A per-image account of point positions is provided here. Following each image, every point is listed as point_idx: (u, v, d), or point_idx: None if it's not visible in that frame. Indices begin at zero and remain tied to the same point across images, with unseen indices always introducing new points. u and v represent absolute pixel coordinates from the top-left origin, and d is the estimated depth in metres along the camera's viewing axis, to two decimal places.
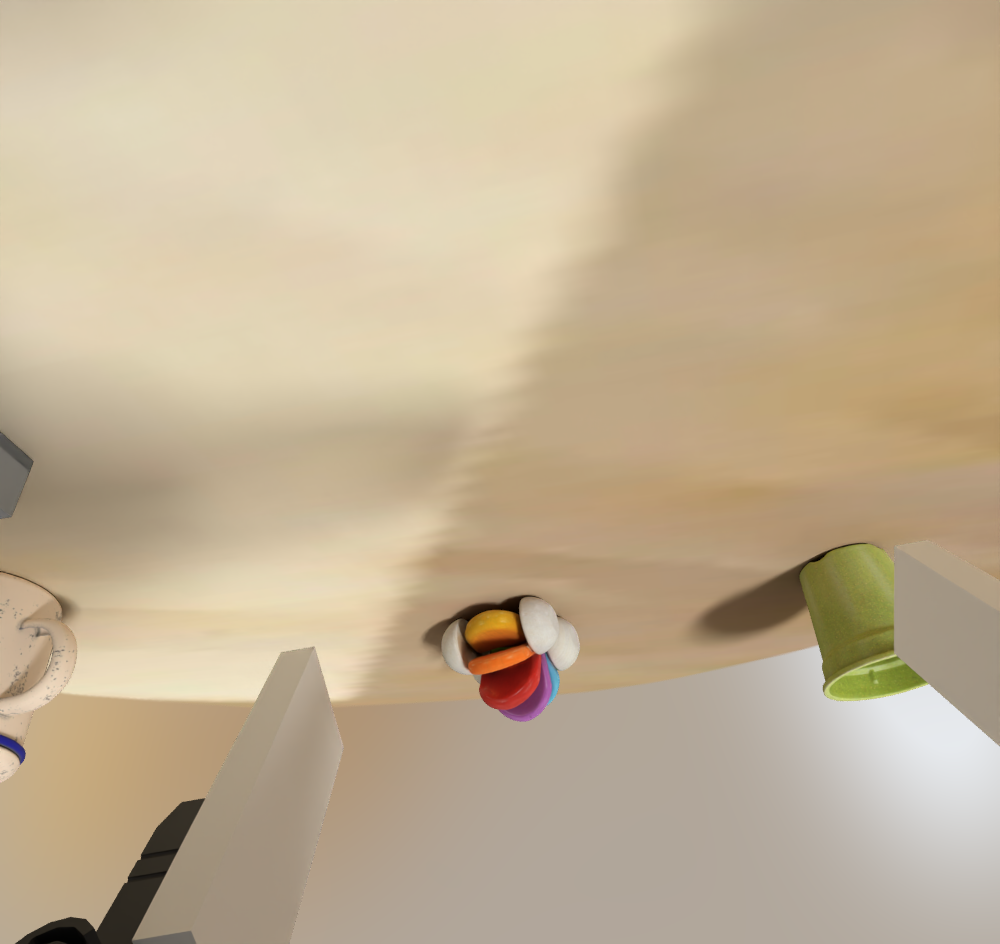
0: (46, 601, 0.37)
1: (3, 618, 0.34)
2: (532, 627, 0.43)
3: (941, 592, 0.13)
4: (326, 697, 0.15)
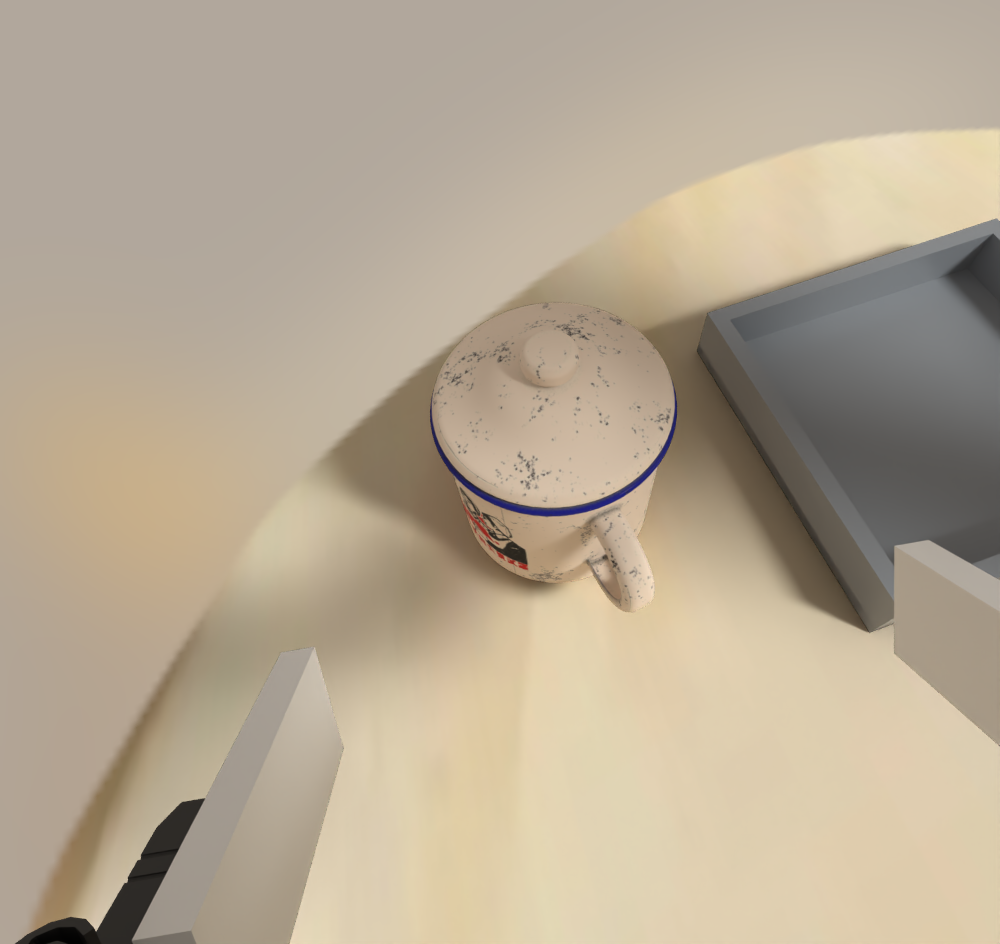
0: (588, 574, 0.29)
1: None
2: None
3: (941, 592, 0.13)
4: (326, 697, 0.15)
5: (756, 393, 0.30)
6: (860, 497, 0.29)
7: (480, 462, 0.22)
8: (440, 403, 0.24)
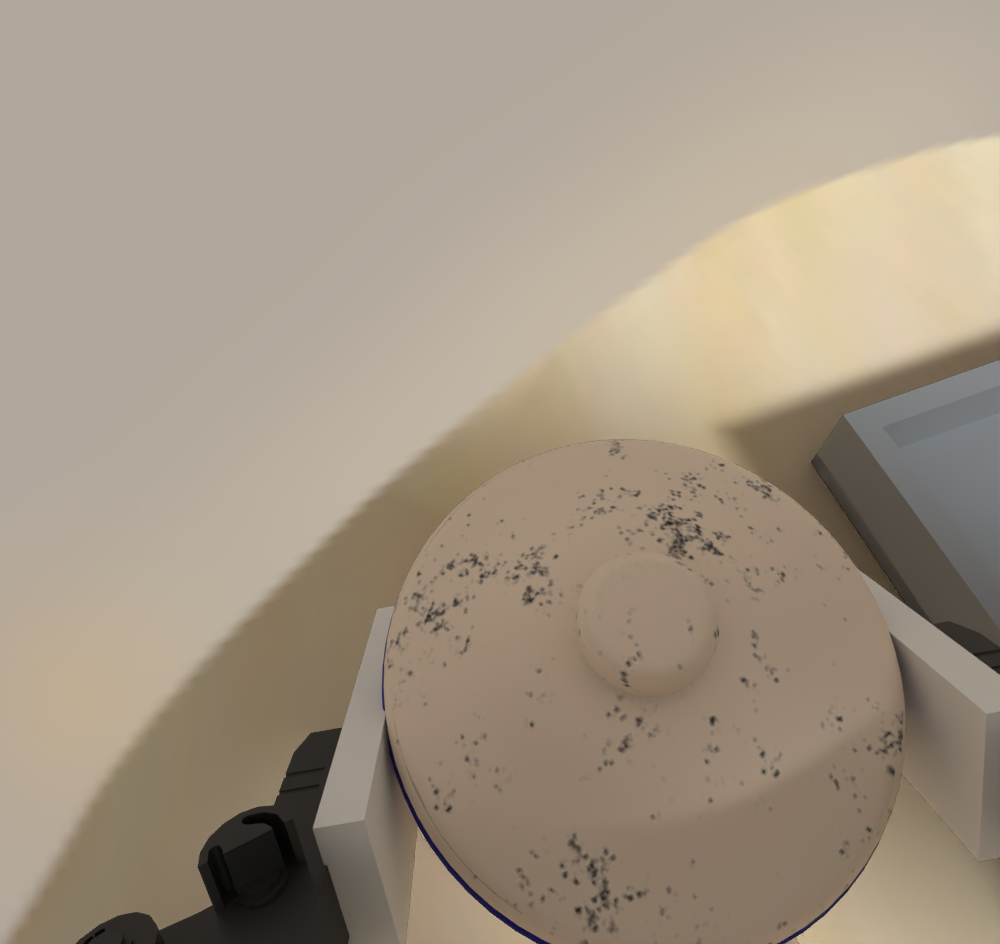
0: None
1: None
2: None
3: None
4: None
5: (944, 562, 0.18)
6: None
7: (483, 843, 0.10)
8: (400, 670, 0.11)
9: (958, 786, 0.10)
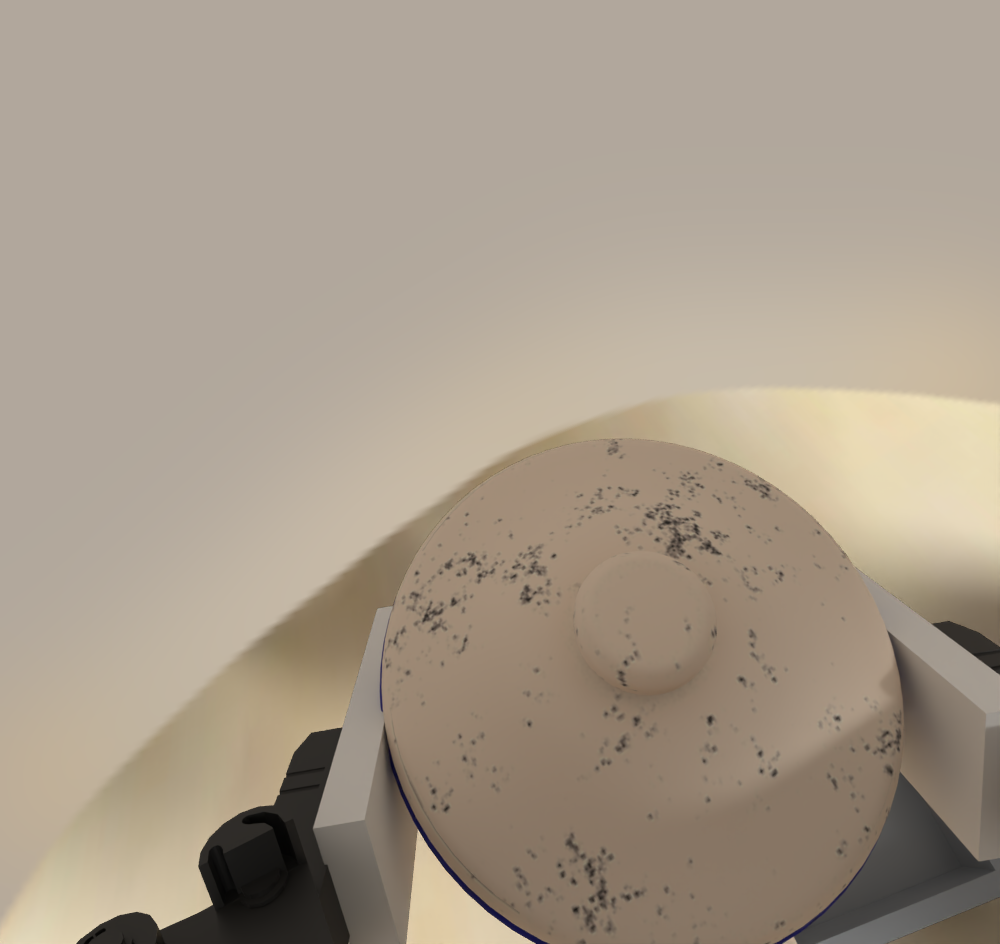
0: None
1: None
2: None
3: None
4: None
5: None
6: None
7: (480, 842, 0.10)
8: (398, 669, 0.11)
9: (958, 786, 0.10)
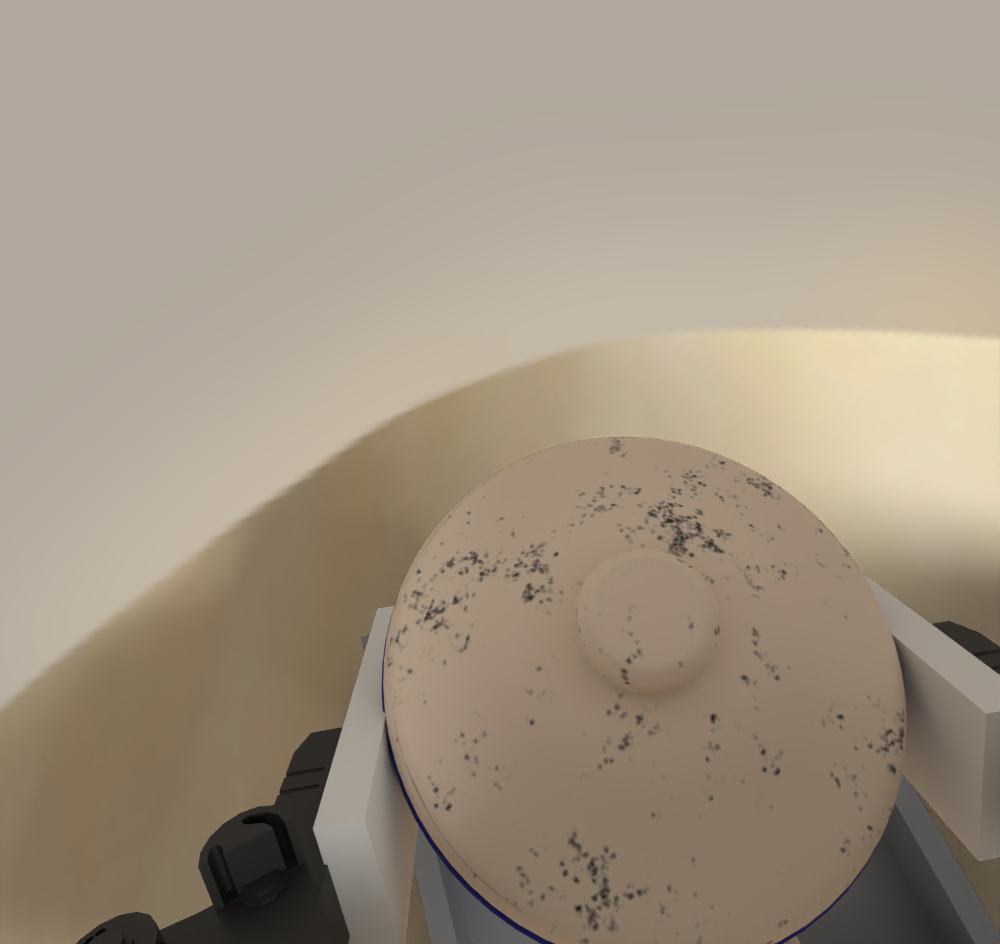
0: None
1: None
2: None
3: None
4: None
5: None
6: None
7: (483, 840, 0.10)
8: (400, 668, 0.11)
9: (957, 786, 0.10)
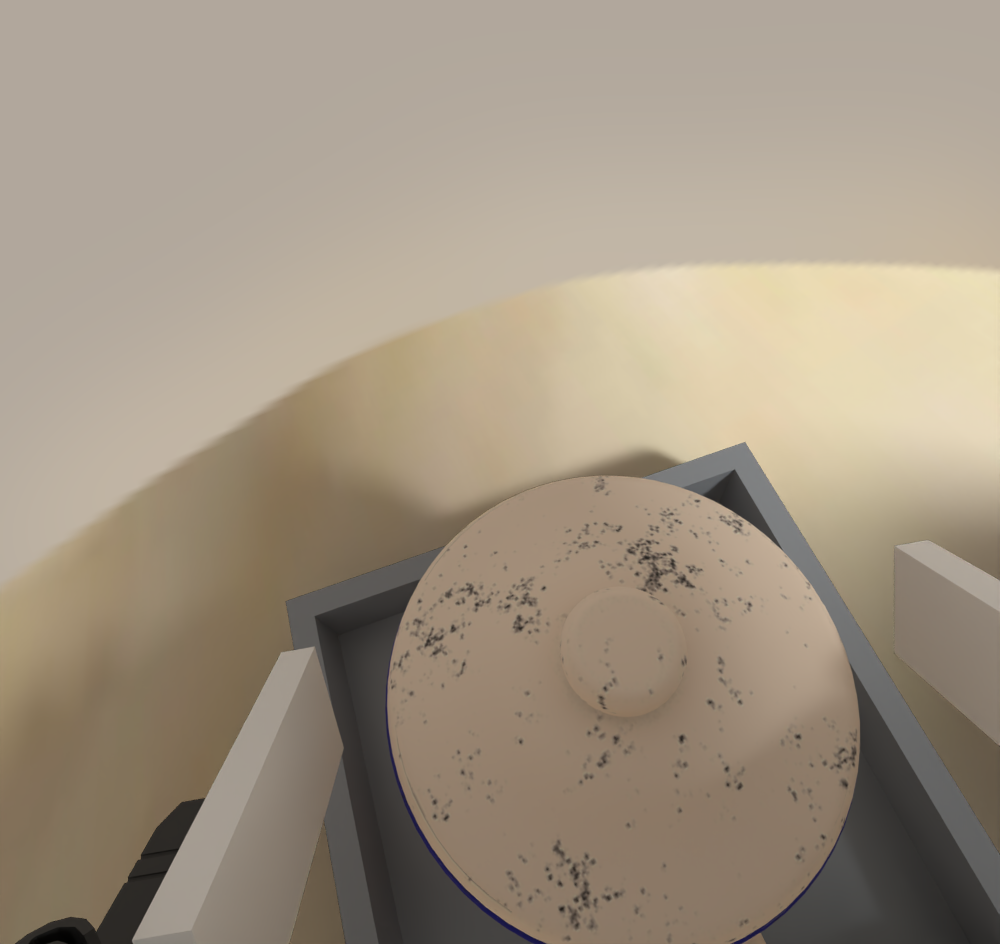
0: None
1: None
2: None
3: (940, 593, 0.13)
4: (327, 697, 0.15)
5: None
6: None
7: (477, 848, 0.11)
8: (402, 690, 0.12)
9: None
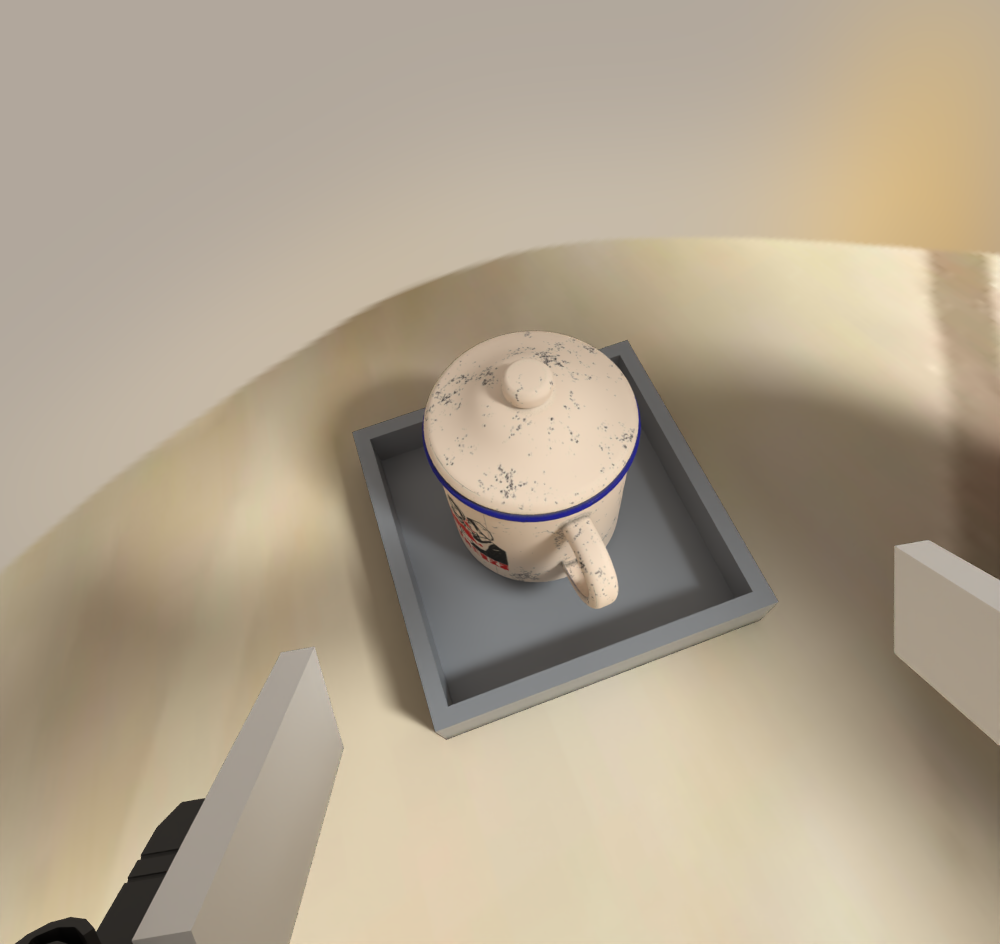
0: (563, 575, 0.32)
1: None
2: None
3: (941, 592, 0.13)
4: (327, 698, 0.15)
5: (375, 512, 0.33)
6: (465, 608, 0.32)
7: (465, 473, 0.25)
8: (431, 420, 0.27)
9: None
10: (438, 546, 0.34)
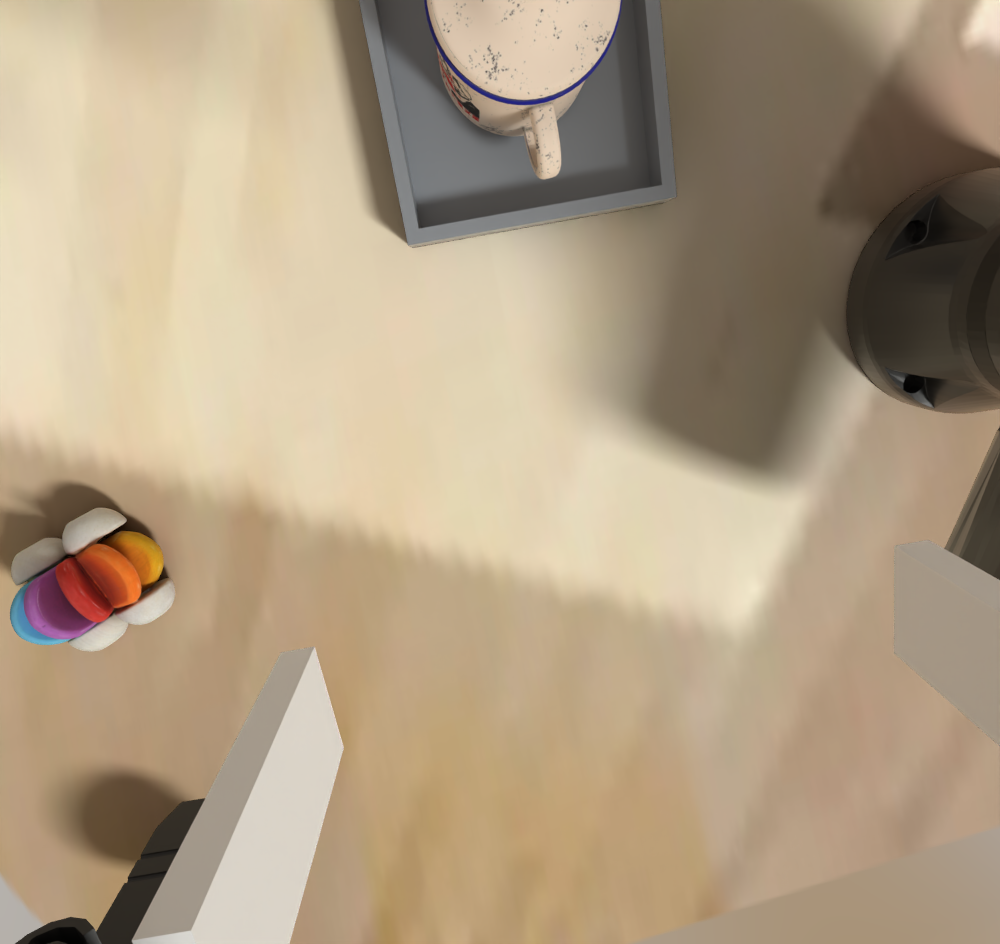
0: (522, 134, 0.38)
1: (556, 112, 0.36)
2: (162, 597, 0.44)
3: (941, 592, 0.13)
4: (327, 698, 0.15)
5: (366, 34, 0.35)
6: (437, 145, 0.39)
7: (459, 44, 0.29)
8: None
9: None
10: (419, 78, 0.38)
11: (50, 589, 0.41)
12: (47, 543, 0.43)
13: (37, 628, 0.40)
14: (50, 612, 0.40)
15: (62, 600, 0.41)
